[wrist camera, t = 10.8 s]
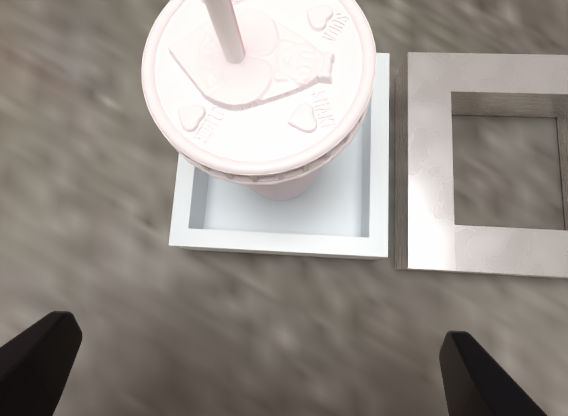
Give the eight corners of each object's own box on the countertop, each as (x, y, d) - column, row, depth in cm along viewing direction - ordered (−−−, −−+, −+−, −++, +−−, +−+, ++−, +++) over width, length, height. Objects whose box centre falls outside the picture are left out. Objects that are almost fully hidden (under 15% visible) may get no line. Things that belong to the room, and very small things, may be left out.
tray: (374, 259, 19) (387, 257, 16) (189, 249, 19) (168, 245, 16) (377, 85, 20) (389, 53, 17) (206, 81, 21) (190, 49, 18)
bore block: (612, 281, 18) (661, 282, 15) (394, 269, 18) (408, 268, 16) (592, 83, 20) (633, 56, 17) (395, 79, 20) (407, 52, 18)
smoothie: (232, 102, 20) (67, -282, 6) (349, 116, 19) (458, -271, 6) (210, 217, 19) (-48, 63, 5) (334, 235, 18) (421, 118, 5)
